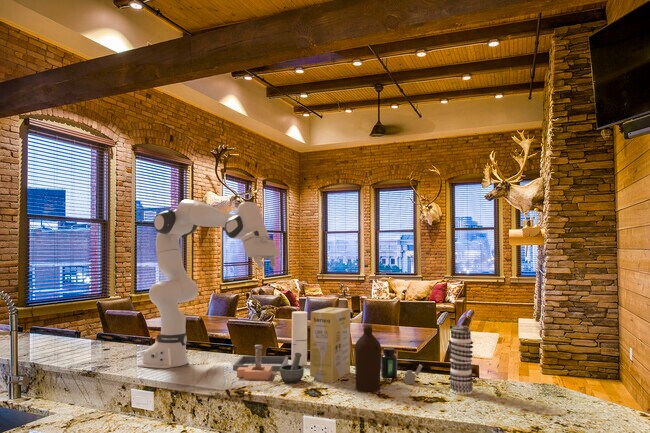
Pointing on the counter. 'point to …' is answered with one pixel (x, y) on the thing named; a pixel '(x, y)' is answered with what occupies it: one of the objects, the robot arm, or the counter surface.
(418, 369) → the lighter
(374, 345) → the olive oil
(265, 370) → the ring
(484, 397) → the counter surface
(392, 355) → the supplement bottle
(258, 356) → the stake stand
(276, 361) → the tray
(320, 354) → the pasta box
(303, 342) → the cylindrical container
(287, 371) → the mortar and pestle
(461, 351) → the grey banded cylinder
